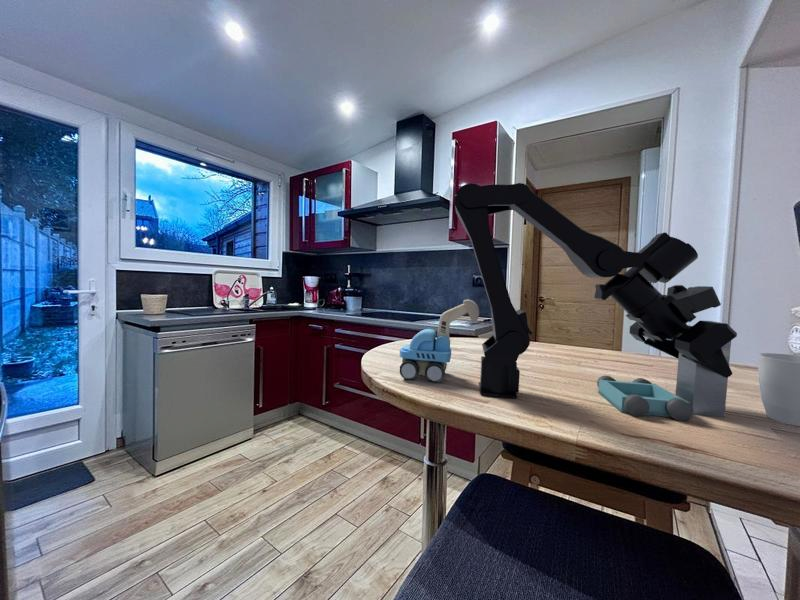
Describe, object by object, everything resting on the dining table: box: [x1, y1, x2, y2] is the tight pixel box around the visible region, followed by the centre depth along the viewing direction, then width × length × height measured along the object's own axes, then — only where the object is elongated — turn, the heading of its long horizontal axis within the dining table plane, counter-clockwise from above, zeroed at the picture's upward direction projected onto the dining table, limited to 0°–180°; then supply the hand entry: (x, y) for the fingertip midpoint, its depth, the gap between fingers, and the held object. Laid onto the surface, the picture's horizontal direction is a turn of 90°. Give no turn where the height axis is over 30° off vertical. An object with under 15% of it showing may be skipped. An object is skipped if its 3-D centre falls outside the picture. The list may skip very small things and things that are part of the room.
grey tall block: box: [675, 340, 732, 418], centre depth 54 cm, size 4×4×13 cm
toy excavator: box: [399, 299, 480, 384], centre depth 69 cm, size 9×17×17 cm, turn 78°
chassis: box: [596, 374, 694, 422], centre depth 56 cm, size 10×12×3 cm
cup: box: [757, 352, 800, 427], centre depth 51 cm, size 8×8×10 cm
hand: (711, 369), depth 54 cm, fingers open, 7 cm apart
